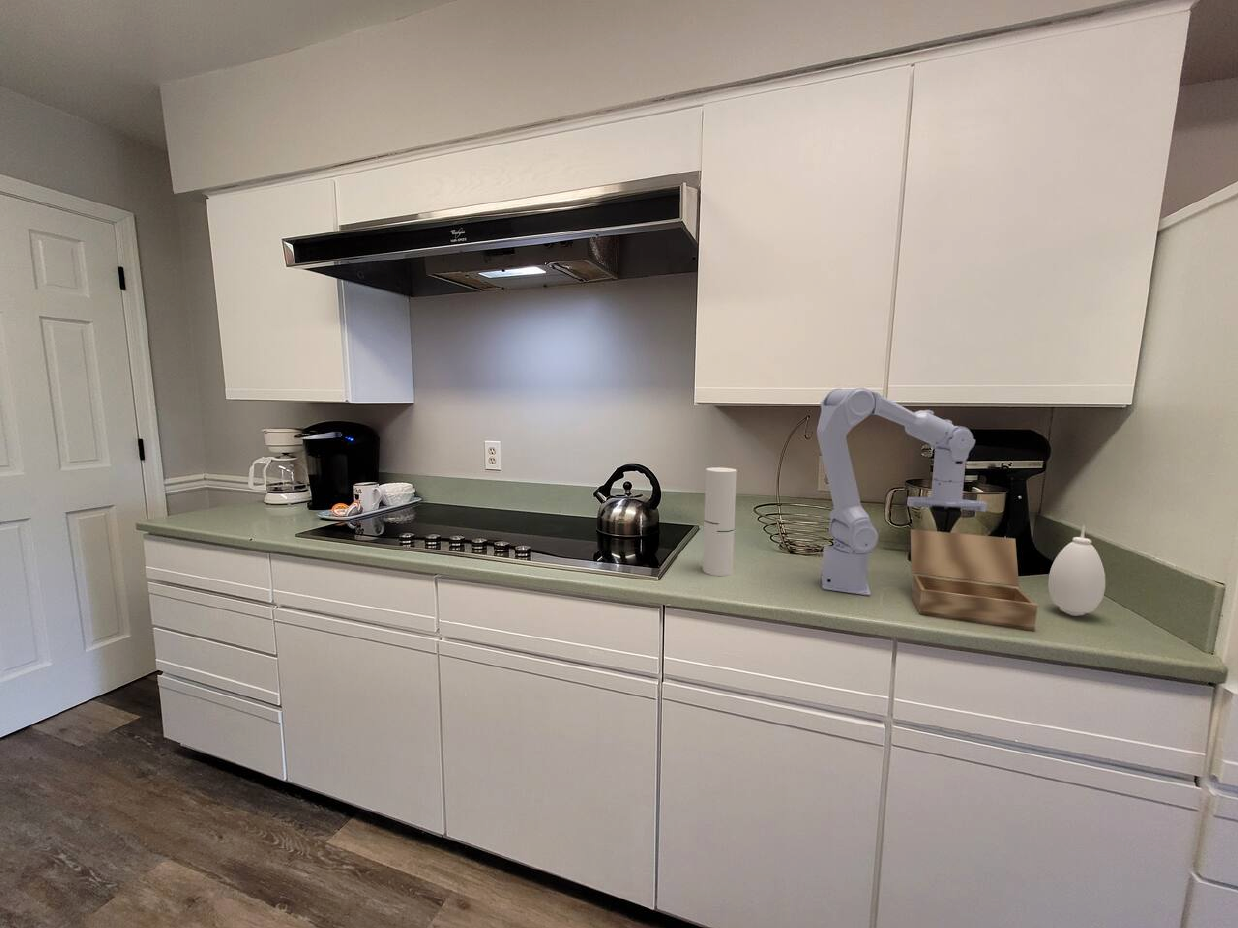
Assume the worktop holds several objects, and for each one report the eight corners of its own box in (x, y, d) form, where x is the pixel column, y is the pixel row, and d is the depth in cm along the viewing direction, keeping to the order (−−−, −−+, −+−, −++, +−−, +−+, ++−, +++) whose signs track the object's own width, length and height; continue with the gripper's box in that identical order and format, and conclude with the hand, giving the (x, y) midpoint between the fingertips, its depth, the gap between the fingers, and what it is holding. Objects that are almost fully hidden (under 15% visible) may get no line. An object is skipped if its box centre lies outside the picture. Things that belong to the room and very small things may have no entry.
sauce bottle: (1068, 604, 100) (1079, 519, 97) (1111, 621, 92) (1125, 529, 90) (1034, 606, 99) (1045, 520, 96) (1075, 624, 91) (1088, 531, 88)
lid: (911, 528, 105) (910, 529, 106) (911, 572, 102) (911, 573, 103) (1015, 538, 99) (1013, 539, 99) (1018, 585, 96) (1017, 586, 96)
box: (919, 614, 94) (921, 590, 94) (911, 597, 103) (913, 574, 102) (1034, 631, 88) (1037, 605, 87) (1015, 611, 96) (1018, 587, 95)
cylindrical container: (708, 564, 123) (711, 466, 119) (736, 569, 119) (740, 468, 116) (698, 572, 117) (701, 470, 113) (727, 578, 113) (731, 472, 110)
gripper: (913, 481, 105) (908, 541, 107) (994, 485, 100) (987, 548, 102) (907, 476, 112) (903, 533, 114) (982, 480, 107) (976, 539, 108)
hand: (942, 539), depth 108 cm, fingers closed
